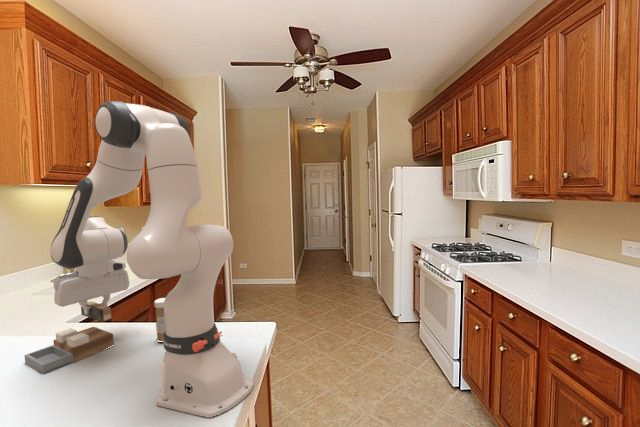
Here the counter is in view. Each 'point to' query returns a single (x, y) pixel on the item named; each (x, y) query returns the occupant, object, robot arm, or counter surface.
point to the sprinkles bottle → (160, 318)
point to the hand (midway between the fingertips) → (95, 311)
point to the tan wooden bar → (98, 311)
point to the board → (88, 343)
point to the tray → (48, 359)
